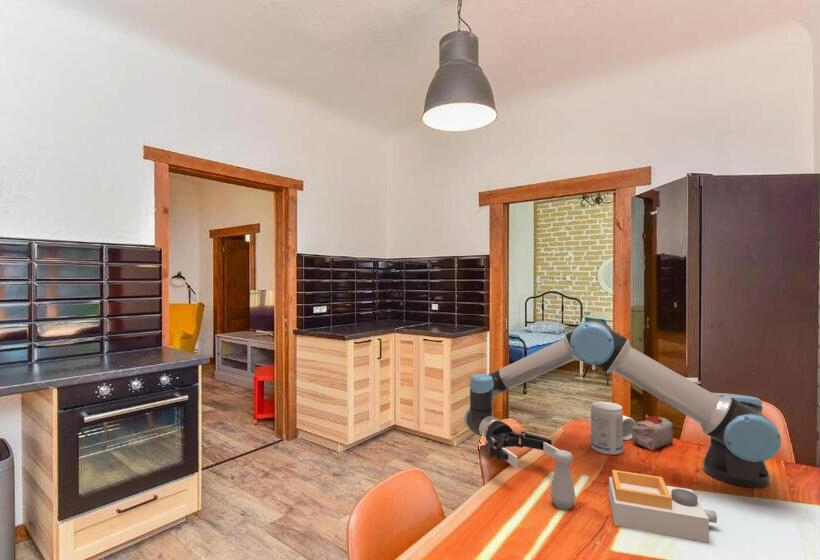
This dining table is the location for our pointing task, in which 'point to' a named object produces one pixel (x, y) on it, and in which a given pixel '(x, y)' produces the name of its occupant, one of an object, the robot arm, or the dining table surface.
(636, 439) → the food item
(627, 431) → the mug
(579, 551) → the dining table surface
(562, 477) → the salt shaker
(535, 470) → the dining table surface
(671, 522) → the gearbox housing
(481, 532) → the dining table surface
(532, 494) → the dining table surface
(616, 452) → the supplement tub
